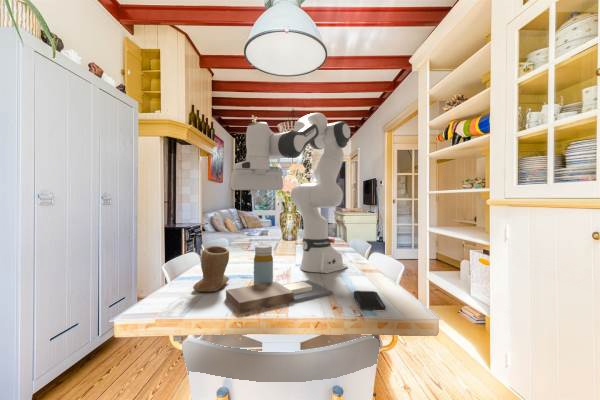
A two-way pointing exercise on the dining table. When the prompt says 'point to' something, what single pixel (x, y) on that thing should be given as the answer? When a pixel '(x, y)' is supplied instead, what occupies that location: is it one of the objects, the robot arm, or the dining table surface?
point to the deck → (258, 296)
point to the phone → (369, 300)
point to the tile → (298, 287)
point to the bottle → (263, 264)
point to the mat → (312, 292)
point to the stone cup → (213, 269)
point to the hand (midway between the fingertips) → (257, 202)
